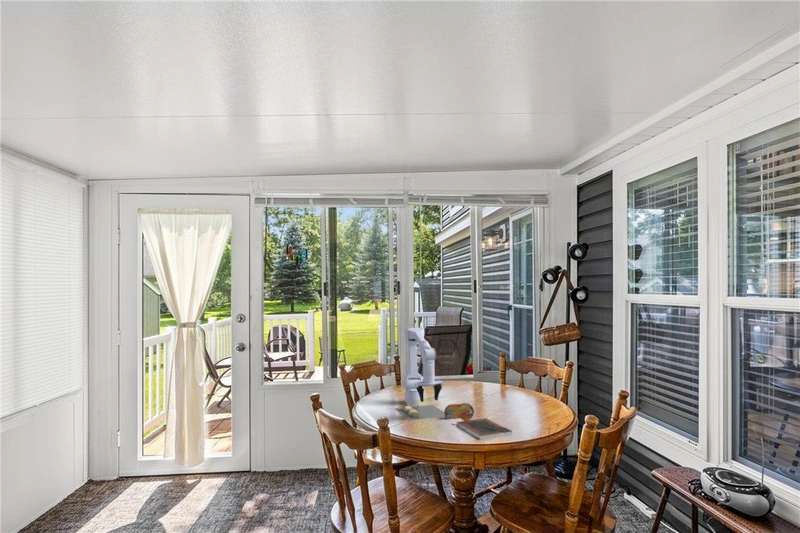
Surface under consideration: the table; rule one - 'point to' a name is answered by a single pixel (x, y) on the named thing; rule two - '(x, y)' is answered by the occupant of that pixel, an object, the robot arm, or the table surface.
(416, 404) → the keeper
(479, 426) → the picture frame
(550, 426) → the table surface
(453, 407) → the tin
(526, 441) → the table surface
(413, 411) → the link
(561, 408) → the table surface
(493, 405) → the table surface
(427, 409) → the board
